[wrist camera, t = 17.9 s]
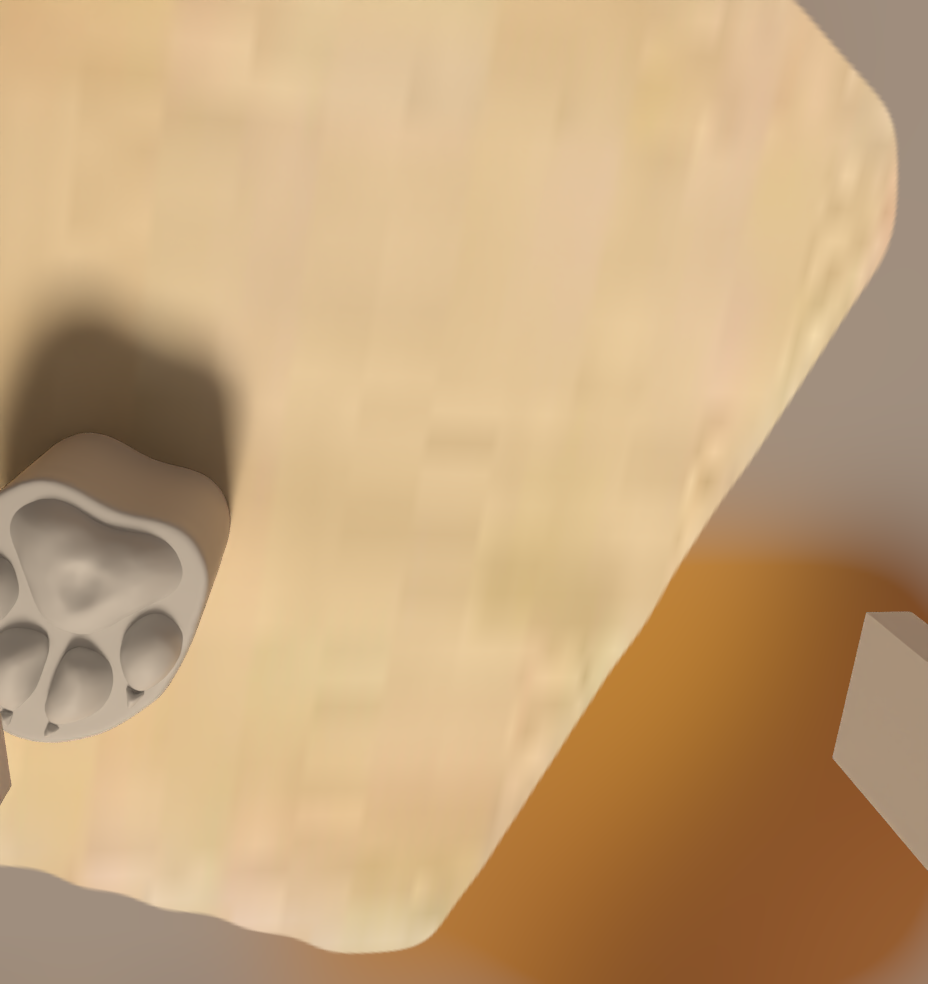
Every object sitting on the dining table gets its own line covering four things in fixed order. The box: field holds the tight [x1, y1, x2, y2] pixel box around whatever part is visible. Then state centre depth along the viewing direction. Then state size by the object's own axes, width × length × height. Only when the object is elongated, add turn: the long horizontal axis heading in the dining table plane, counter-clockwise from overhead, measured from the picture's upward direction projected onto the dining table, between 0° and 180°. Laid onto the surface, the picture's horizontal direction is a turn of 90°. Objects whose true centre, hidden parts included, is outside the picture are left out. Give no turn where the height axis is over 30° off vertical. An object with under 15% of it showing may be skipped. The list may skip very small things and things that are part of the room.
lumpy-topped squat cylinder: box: [0, 433, 230, 743], centre depth 41 cm, size 10×13×9 cm
